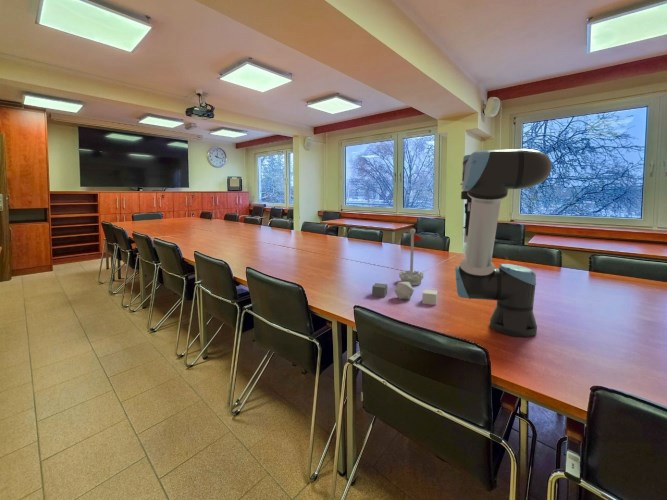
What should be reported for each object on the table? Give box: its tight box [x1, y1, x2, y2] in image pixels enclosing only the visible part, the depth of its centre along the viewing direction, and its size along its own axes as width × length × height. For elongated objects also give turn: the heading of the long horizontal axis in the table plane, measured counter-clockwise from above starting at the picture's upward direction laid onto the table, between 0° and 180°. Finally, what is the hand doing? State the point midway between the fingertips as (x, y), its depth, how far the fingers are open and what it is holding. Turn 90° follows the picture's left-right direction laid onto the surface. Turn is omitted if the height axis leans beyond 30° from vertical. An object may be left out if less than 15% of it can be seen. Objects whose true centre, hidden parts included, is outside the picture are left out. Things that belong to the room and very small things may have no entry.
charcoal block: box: [371, 282, 388, 298], centre depth 163 cm, size 6×6×5 cm
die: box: [394, 281, 415, 300], centre depth 157 cm, size 8×9×10 cm
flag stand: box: [398, 228, 425, 286], centre depth 182 cm, size 13×13×30 cm
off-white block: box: [421, 288, 439, 306], centre depth 151 cm, size 6×6×5 cm
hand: (467, 242), depth 153 cm, fingers closed
